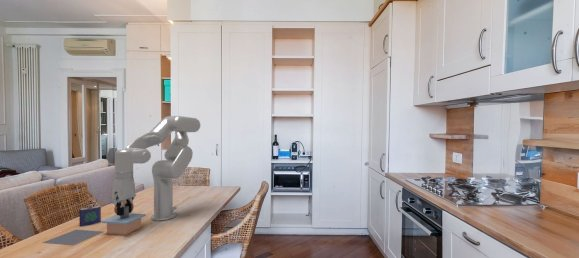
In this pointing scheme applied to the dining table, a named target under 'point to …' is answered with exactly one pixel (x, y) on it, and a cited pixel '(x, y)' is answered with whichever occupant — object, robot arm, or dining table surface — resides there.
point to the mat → (73, 237)
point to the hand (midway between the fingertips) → (124, 213)
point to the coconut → (123, 205)
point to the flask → (89, 215)
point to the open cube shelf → (123, 228)
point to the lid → (124, 217)
